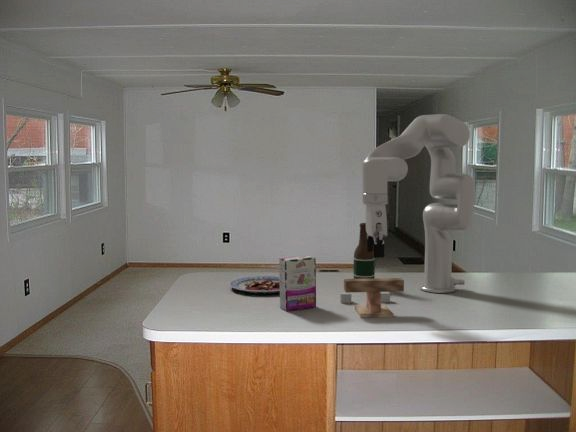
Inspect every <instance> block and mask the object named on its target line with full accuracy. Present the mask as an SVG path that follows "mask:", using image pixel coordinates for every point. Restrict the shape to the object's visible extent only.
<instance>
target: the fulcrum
mask: <svg viewBox="0 0 576 432" xmlns="http://www.w3.org/2000/svg"><path fill="white" fill-rule="evenodd" d="M354 310H355V312H356V313H357V314H358V316H359V318H394V312H393V311H391V309H390V308H389V307H388V306H387V305H382V302H381V293H380V292H366V305H354Z"/></svg>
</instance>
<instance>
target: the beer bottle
mask: <svg viewBox="0 0 576 432" xmlns="http://www.w3.org/2000/svg"><path fill="white" fill-rule="evenodd" d="M359 227H360V229H359V238H358V239H359V240H358V245H357V246H356V248H355V250H354V253H353V279H370V278H376V277H375V276H376V275H375V270H376V269H375V267H376V260H375V259H376V258H374V257H373V252H368V251H367V232H366V222H361V223H359Z"/></svg>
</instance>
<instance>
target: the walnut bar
mask: <svg viewBox="0 0 576 432" xmlns="http://www.w3.org/2000/svg"><path fill="white" fill-rule="evenodd" d="M343 292H346V293H367V292H389V293H391V292H392V293H395V292H400V293H401V292H402V293H403V292H405V280H404V279H403V278H402V277H391V278H390V277H387V278H386V277H381V278H377V277H375V278H370V279H354V278H343Z"/></svg>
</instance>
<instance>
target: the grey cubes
mask: <svg viewBox="0 0 576 432" xmlns="http://www.w3.org/2000/svg"><path fill="white" fill-rule="evenodd" d="M380 293H381V303H390V302H391V292H380ZM339 303H340V304H352V292H350V293H346V292H345V291H343V292H339Z"/></svg>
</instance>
